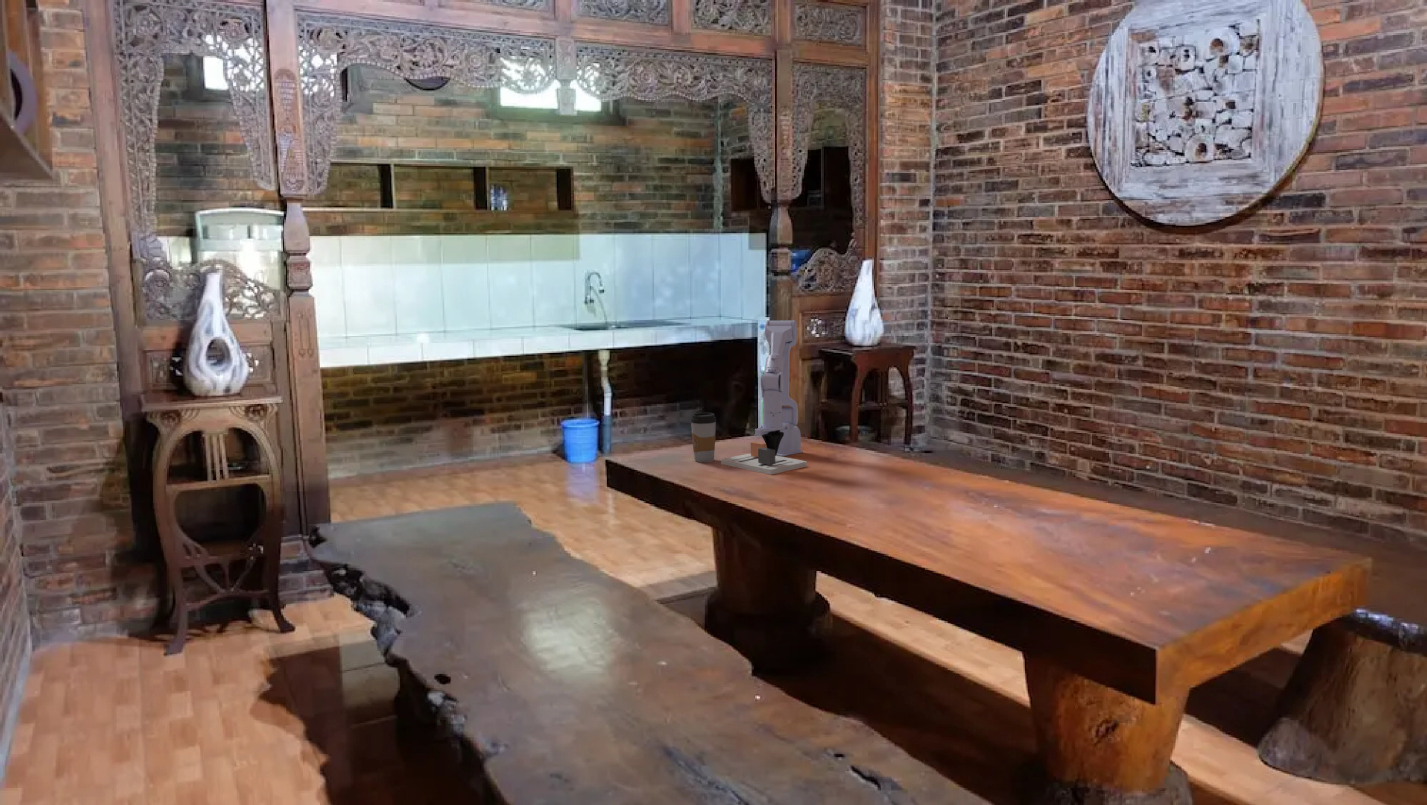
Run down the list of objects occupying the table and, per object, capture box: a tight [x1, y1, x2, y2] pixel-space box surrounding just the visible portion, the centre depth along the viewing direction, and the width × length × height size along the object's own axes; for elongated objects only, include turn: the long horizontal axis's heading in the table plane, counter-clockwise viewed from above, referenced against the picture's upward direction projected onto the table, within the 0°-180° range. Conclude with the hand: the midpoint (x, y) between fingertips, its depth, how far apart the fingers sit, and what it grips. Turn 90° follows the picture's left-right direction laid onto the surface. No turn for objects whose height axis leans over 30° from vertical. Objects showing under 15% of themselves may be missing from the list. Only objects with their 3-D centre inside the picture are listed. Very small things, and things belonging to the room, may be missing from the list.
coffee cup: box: [690, 412, 717, 463], centre depth 317 cm, size 8×8×15 cm
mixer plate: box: [720, 452, 808, 475], centre depth 309 cm, size 16×22×2 cm
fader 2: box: [758, 448, 775, 465], centre depth 303 cm, size 2×5×4 cm, turn 42°
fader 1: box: [750, 441, 767, 457], centre depth 313 cm, size 2×5×4 cm, turn 42°
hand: (772, 455), depth 305 cm, fingers closed
